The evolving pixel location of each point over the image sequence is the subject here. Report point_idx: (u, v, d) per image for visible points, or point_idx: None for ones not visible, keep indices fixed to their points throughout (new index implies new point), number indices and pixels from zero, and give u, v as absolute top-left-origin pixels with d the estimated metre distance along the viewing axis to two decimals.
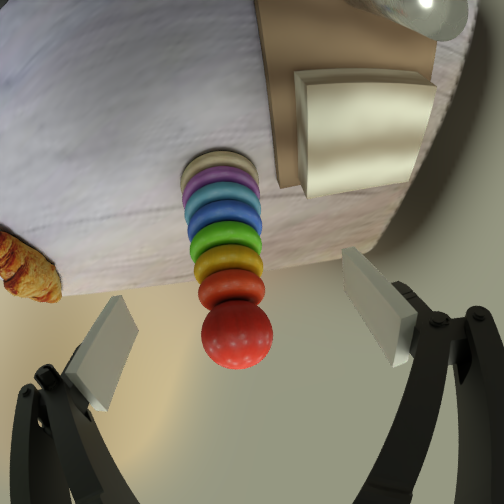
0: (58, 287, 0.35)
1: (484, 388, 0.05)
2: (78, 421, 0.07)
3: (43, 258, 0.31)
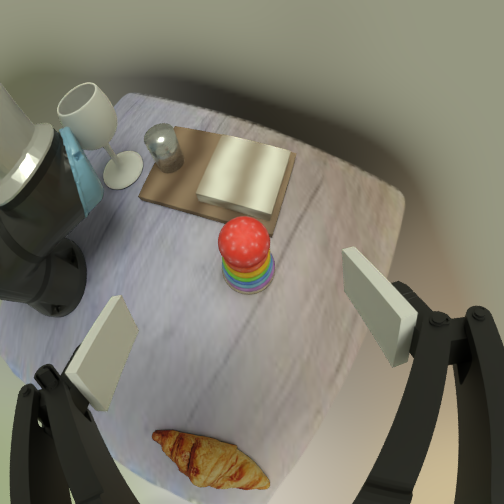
0: (251, 462, 0.33)
1: (484, 388, 0.05)
2: (78, 421, 0.07)
3: (219, 442, 0.35)
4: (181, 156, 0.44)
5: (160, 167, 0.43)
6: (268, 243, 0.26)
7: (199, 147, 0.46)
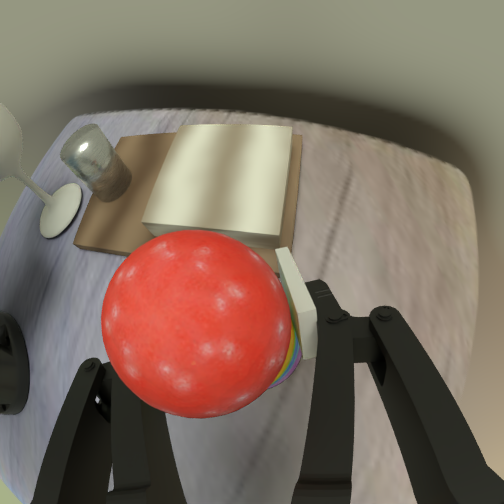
0: None
1: (406, 389, 0.06)
2: None
3: None
4: (123, 171, 0.27)
5: (96, 194, 0.26)
6: (286, 320, 0.06)
7: (152, 155, 0.29)
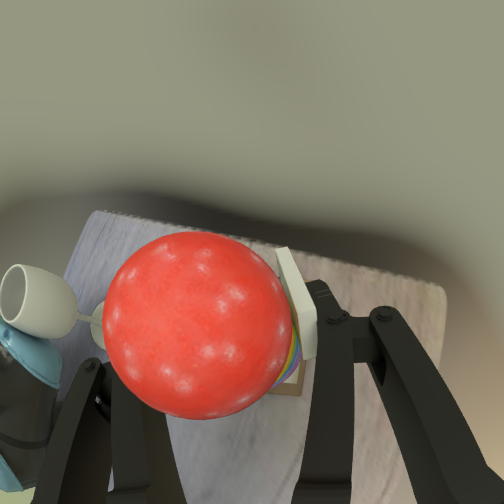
0: None
1: (406, 389, 0.06)
2: None
3: None
4: None
5: None
6: (287, 322, 0.06)
7: None
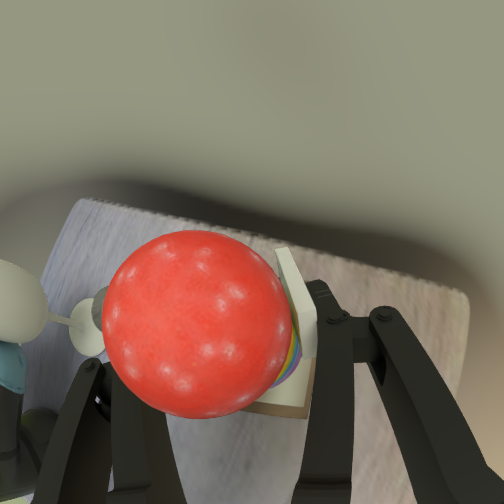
0: None
1: (406, 389, 0.06)
2: None
3: None
4: None
5: None
6: (287, 321, 0.06)
7: None
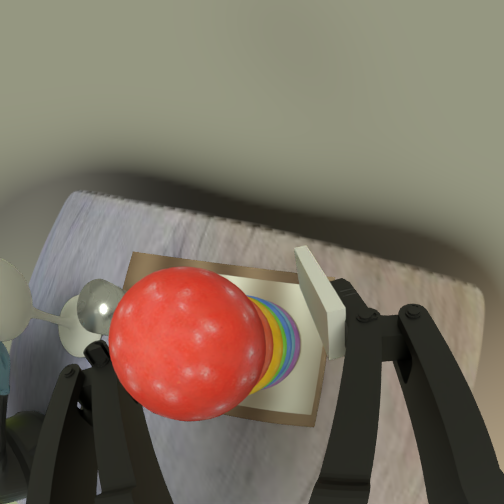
0: None
1: (430, 387, 0.06)
2: (123, 404, 0.08)
3: None
4: None
5: None
6: (257, 345, 0.07)
7: None
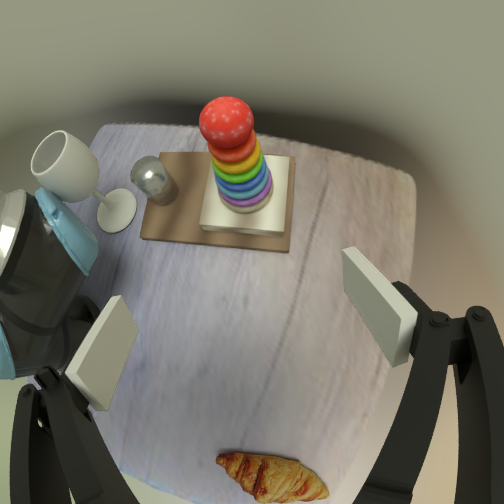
0: (314, 476, 0.31)
1: (484, 388, 0.05)
2: (78, 421, 0.07)
3: (283, 459, 0.34)
4: (174, 185, 0.41)
5: (155, 202, 0.41)
6: (251, 113, 0.22)
7: (191, 170, 0.44)
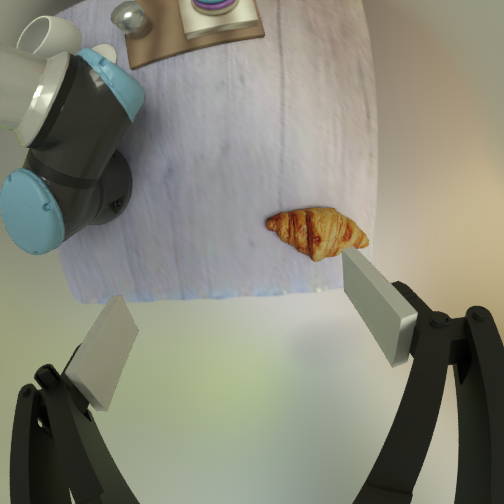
0: (351, 220, 0.48)
1: (484, 388, 0.05)
2: (78, 421, 0.07)
3: None
4: (149, 18, 0.30)
5: (136, 36, 0.32)
6: None
7: (158, 5, 0.31)
